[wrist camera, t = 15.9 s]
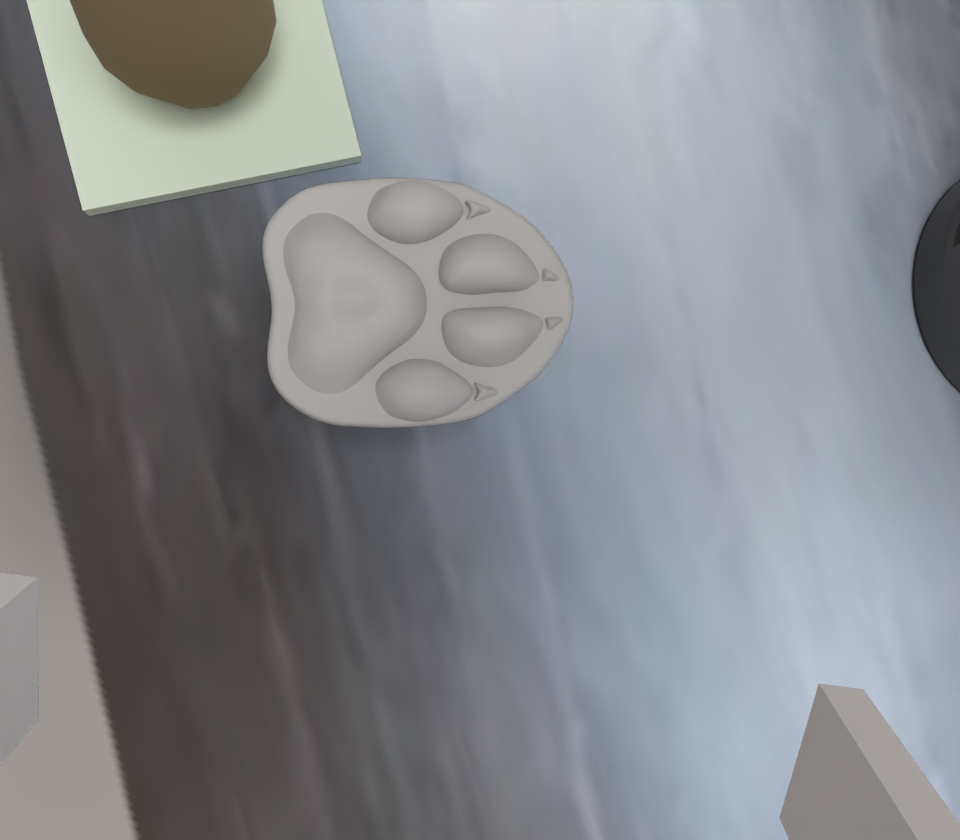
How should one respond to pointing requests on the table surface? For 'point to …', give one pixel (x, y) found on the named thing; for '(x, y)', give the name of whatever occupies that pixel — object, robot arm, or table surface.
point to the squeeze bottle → (179, 45)
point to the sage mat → (197, 116)
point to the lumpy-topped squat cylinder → (408, 302)
